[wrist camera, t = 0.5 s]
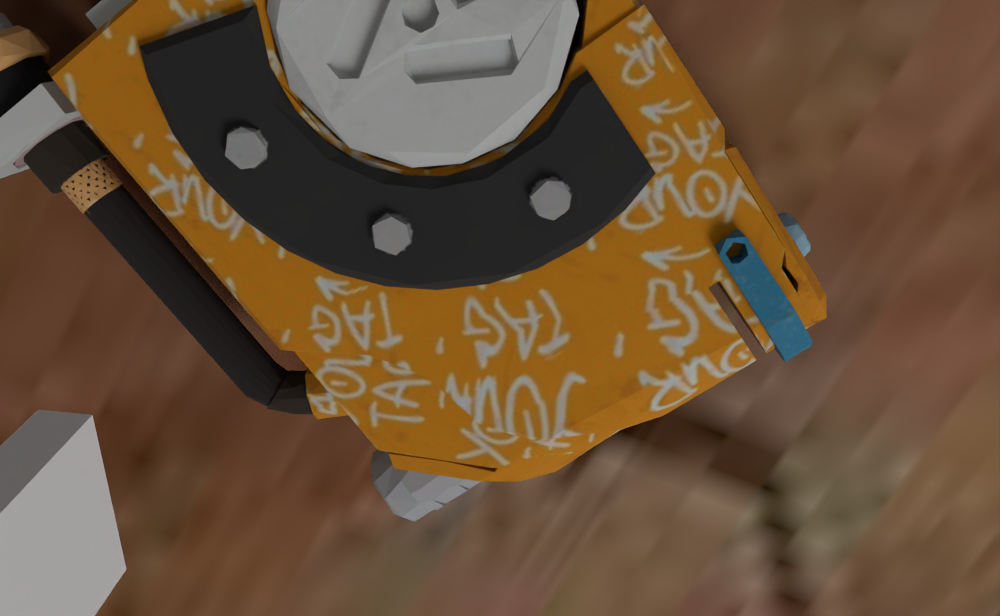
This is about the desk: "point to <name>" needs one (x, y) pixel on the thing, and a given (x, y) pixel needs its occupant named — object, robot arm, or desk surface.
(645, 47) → the device
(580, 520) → the desk surface
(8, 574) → the robot arm
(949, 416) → the desk surface
